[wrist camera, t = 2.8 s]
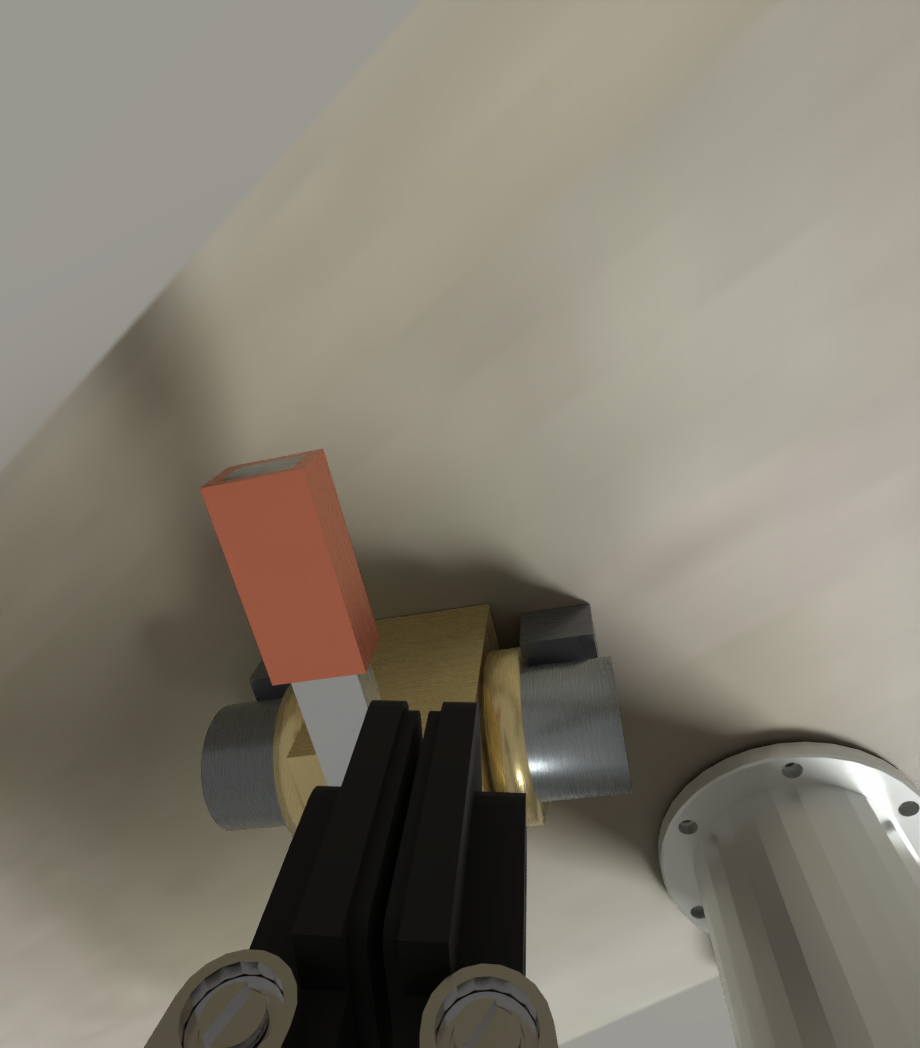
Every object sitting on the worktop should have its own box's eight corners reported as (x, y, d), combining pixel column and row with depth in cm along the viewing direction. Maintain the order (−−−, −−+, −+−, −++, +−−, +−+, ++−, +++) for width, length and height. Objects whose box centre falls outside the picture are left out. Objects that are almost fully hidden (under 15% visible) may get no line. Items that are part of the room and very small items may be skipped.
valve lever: (460, 866, 24) (452, 928, 22) (361, 874, 25) (344, 935, 23) (338, 445, 19) (311, 472, 17) (217, 468, 20) (176, 497, 18)
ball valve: (619, 712, 33) (646, 875, 24) (295, 749, 35) (221, 906, 27) (598, 585, 30) (619, 718, 22) (254, 635, 33) (158, 769, 25)
